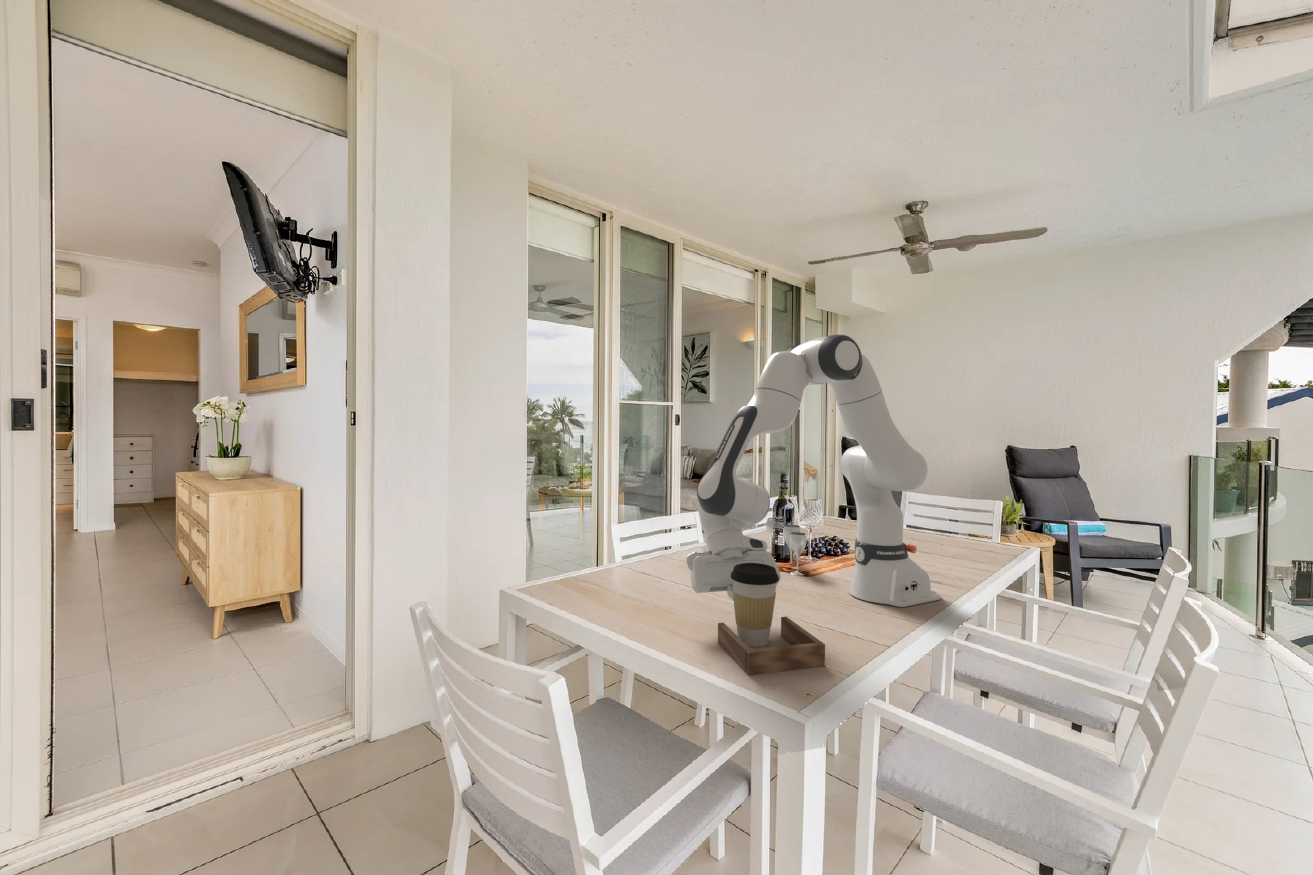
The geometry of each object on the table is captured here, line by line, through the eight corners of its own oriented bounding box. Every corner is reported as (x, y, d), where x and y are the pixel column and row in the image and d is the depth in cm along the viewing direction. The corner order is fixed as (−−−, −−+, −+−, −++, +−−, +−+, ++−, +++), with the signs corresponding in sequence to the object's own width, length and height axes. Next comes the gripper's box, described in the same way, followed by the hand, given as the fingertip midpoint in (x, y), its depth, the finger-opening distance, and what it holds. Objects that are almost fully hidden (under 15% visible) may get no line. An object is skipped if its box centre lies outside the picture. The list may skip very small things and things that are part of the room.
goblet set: (809, 575, 161) (810, 530, 161) (790, 575, 160) (791, 530, 160) (779, 552, 189) (780, 513, 188) (763, 552, 188) (763, 513, 188)
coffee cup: (765, 629, 119) (767, 560, 118) (785, 648, 110) (787, 574, 109) (722, 632, 117) (724, 562, 116) (739, 652, 107) (740, 576, 107)
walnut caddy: (785, 635, 116) (786, 616, 116) (824, 665, 102) (825, 644, 102) (717, 642, 112) (718, 622, 112) (748, 675, 98) (748, 652, 98)
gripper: (688, 545, 122) (702, 603, 113) (772, 541, 127) (792, 596, 118) (681, 560, 126) (694, 617, 117) (763, 555, 131) (781, 610, 122)
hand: (744, 606), depth 118 cm, fingers closed, pressing on coffee cup
